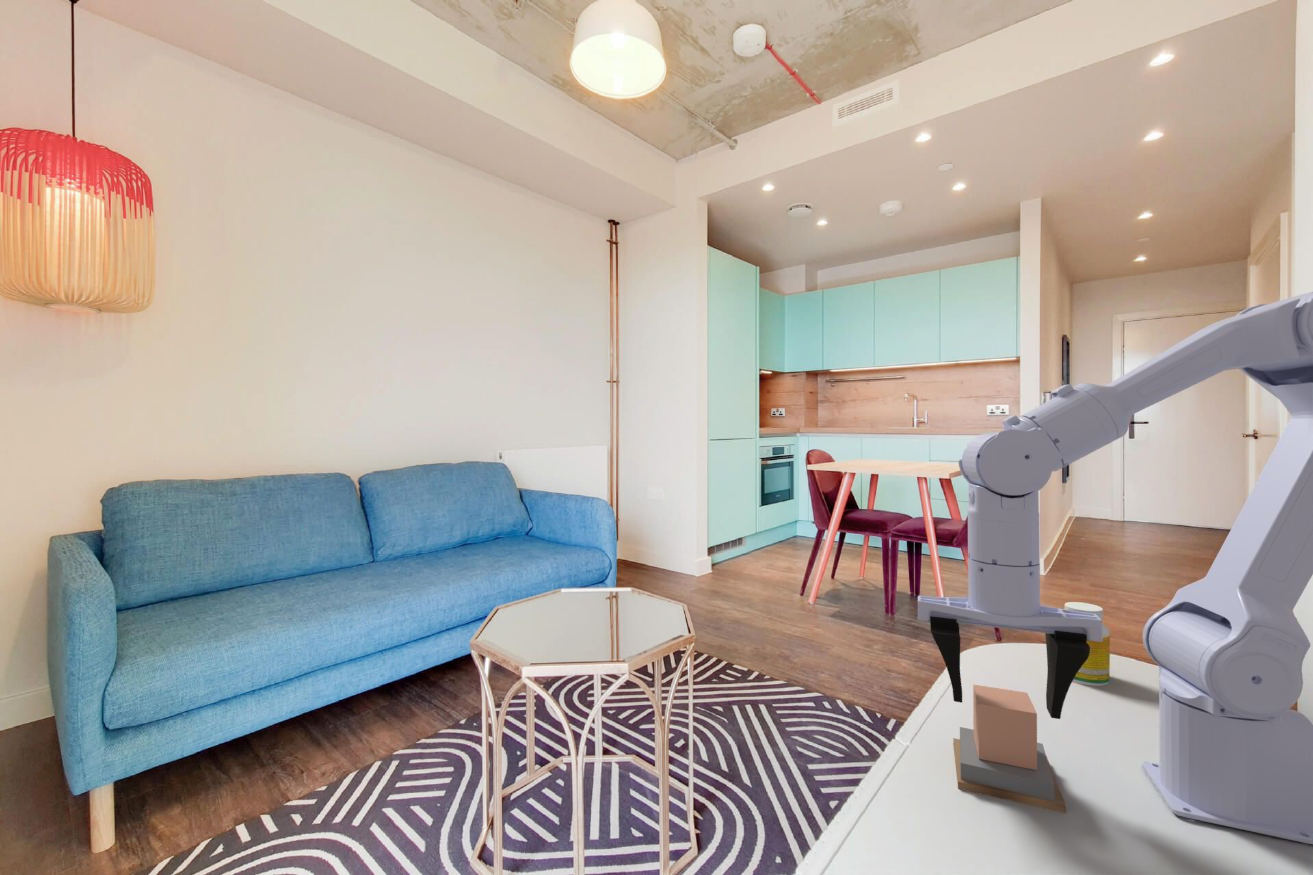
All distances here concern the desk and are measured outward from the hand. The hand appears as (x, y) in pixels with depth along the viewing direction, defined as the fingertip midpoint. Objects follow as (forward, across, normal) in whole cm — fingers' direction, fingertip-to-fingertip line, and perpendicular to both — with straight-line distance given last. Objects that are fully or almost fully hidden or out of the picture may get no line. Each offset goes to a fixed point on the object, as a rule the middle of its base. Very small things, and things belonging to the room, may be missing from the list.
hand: (1004, 705), depth 53 cm
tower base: (+7, 0, 0) cm, 7 cm away
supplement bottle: (+7, -12, -28) cm, 31 cm away
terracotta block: (+4, 0, 0) cm, 4 cm away
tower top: (+6, 0, 0) cm, 6 cm away
